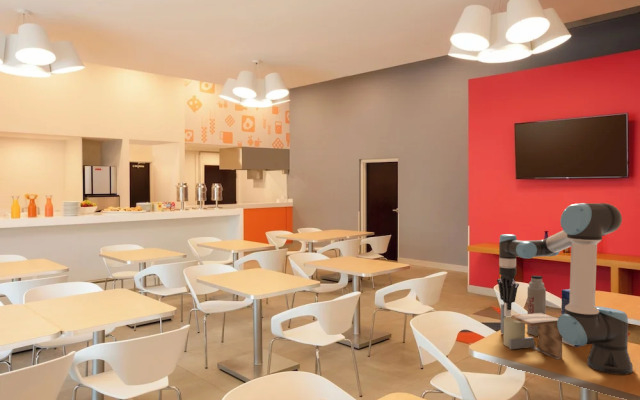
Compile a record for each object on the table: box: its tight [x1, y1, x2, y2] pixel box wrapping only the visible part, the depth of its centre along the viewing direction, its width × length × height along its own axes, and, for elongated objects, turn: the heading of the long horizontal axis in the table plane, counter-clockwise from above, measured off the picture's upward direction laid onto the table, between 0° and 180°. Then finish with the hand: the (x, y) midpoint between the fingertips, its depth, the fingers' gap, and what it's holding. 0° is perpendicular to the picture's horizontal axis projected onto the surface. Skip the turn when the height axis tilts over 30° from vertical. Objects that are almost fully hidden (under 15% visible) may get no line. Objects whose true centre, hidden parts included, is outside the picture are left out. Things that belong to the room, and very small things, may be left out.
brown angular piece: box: [502, 313, 563, 360], centre depth 206 cm, size 34×16×16 cm, turn 17°
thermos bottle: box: [526, 275, 547, 337], centre depth 226 cm, size 8×8×28 cm
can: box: [502, 316, 526, 348], centre depth 209 cm, size 9×9×12 cm
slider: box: [500, 303, 536, 350], centre depth 214 cm, size 21×13×14 cm, turn 16°
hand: (507, 315), depth 222 cm, fingers closed
